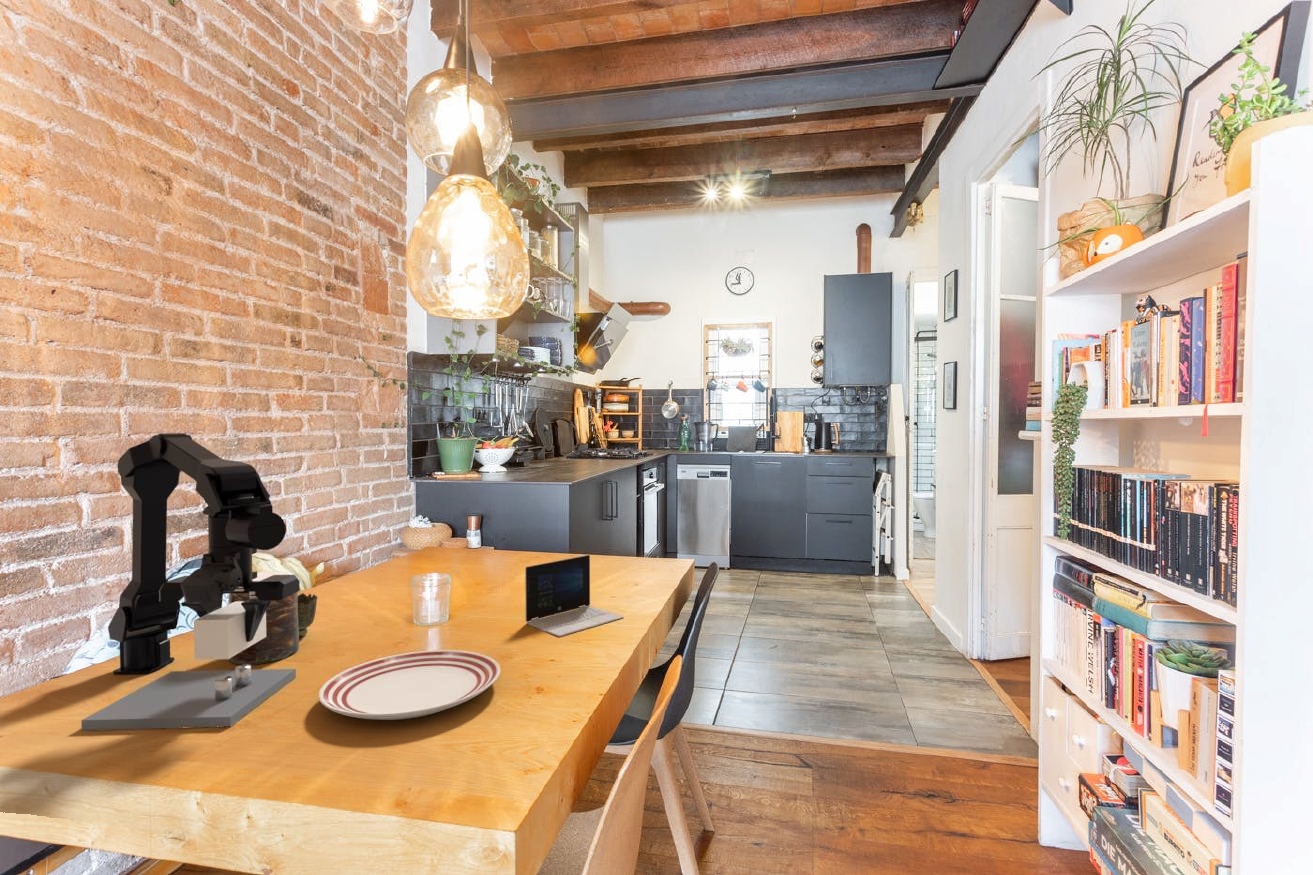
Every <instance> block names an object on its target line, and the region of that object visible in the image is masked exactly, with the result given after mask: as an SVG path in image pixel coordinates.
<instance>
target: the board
mask: <svg viewBox="0 0 1313 875" xmlns="http://www.w3.org/2000/svg"><path fill="white" fill-rule="evenodd" d="M226 676H230V677H232V698H230V699H228V700H225V701H215V680H216V679H218V678H221V677H226ZM296 676H297V670H296V668H279V669H278V668H277V669H271V668H270V669H267V668H265V669H251V685H249V686H247V687H242V688H237V687H235V669H233V670H232V669H231V670H230V669H226V670H225V669H224V670H223V669H222V670H221V669H220V670H219V669H217V670H178V671H177V670H176V671H175V670H172V671H170V672H168V673H165V674H164V675H162V676H160V677H159V678H156V679H155V680H153V681H151V682H149V683H148V684H145V685H143V686H142V687H140V688H138V689H137V690H135V691H133V692H131V693H129V694H127V695H126V696H125V695H124V696H123V697H121V698H120V699H118V700H116V701H114V702H113V703H110V704H109V705H107V706H105V707H103V708H102V709H99V710H97V711H95V712H94V713H92V714H90V715H88V716H87V717H85V718H82V719H80V721H81V731H102V730H103V731H110V730H111V731H115V730H121V729H122V730H152V729H151V728H166V729H184V728H183V727H210V728H225V727H224V726H231V725H233V724H234V725H235V724H237V723H238V722H239V721H241V720H242V719H243V718H244V717H245V716H244V715H246V714H247V713H248V712H250V711H251V710H252V711H254V710H255V709H256V708H258V707H259V706H260V705H262V704H263V703H264V702H266V701H267V700H268V699H269V698H271V697H272V696H273V695H275V694H276V693H277V692H278V691H280V690H281V689H282V688H284V687H285V686H286V685H288V684H289V683H290V682H292V681H293V680H294V679H296V678H297V677H296ZM271 695H272V696H271ZM270 696H271V697H270ZM267 698H268V699H267ZM266 699H267V700H266ZM265 700H266V701H265ZM262 702H263V703H262ZM261 703H262V704H261ZM258 705H259V706H258ZM257 706H258V707H257ZM252 711H251V712H252ZM251 712H250V713H251ZM248 714H249V713H248ZM248 714H247V715H248ZM247 715H246V716H247ZM243 716H244V717H243ZM242 717H243V718H242ZM241 718H242V719H241ZM240 719H241V720H240ZM237 721H238V722H237ZM236 722H237V723H236ZM234 725H233V726H234ZM217 726H218V727H217ZM220 726H222V727H220ZM231 727H232V726H231Z"/></svg>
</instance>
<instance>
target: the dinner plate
mask: <svg viewBox="0 0 1313 875" xmlns="http://www.w3.org/2000/svg"><path fill="white" fill-rule="evenodd" d="M500 675H501V667H500V664H499V663H498V662H497V661H496V660H495V659H494V658H492V657H490V656H488V655H485V654H482V653H478V652H474V651H473V652H472V651H467V650H457V649H455V650H454V649H437V650H434V649H433V650H420V651H419V650H418V651H413V652H405V653H398V654H395V655H394V654H393V655H389V656H384V657H381V658H377V659H373V660H369V661H366V662H363V663H360V664H357V665H355V666H352V667H349V668H347V669H345V670H342V671H341V672H340V673H338V674H336V675H334V676H333V677H331V678H329V680H327V681H326V682H325V683H324V684H323V685H322V686H321V687H320V689H319V691H318V700H319V703H321V705H322V706H324V707H325V708H326V709H328V710H330V711H332V712H334V713H337V714H340V715H343V716H346V717H352V718H358V719H363V720H378V721H379V720H380V721H399V720H409V719H416V718H422V717H425V716H430V715H433V714H436V713H439V712H443V711H445V710H448V709H450V708H454V707H456V706H458V705H461V704H464V703H465V702H468V701H469V700H471V699H473V698H476V696H479V695H480V694H481V693H483V692H484V691H486V690H487V689H488V688H490V687H491V686H492V685H493V684H494V683H495V682H496V681H497V679H498V678H499V677H500Z"/></svg>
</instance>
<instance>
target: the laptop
mask: <svg viewBox="0 0 1313 875" xmlns="http://www.w3.org/2000/svg"><path fill="white" fill-rule="evenodd" d="M590 562H591V557H590V555H589V554H586V555H580V556H575V557H571V558H565V559H559V560H554V561H553V560H552V561H549V562H543V563H538V564H533V565H528V566H525V569H524V572H525V578H524V579H525V580H524V581H525V582H524V583H525V584H524V585H525V622H526V625H527V624H528V626H529V625H531V626H530V627H532V626H533V627H532V628H534V627H535V629H538V630H539V631H542V632H544V633H547V634H551V635H553V636H556V637H559V638H560V637H564V636H567V635H570V634H574V633H577V632H582V631H583V630H587V629H591V628H595V627H598V626H601V625H605V624H607V623H611V622H614V621H619V620H622V619H624V616H623V615H620V614H617V613H615V612H614V613H613V612H611V611H607V610H605V609H602V608H598V607H595V606H592V605H591V583H590V582H591V576H590V574H591V564H590ZM618 619H619V620H618Z"/></svg>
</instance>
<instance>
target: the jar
mask: <svg viewBox="0 0 1313 875" xmlns="http://www.w3.org/2000/svg"><path fill="white" fill-rule="evenodd" d="M273 575H289V574H288V573H287V572H285V571H277V570H275V571H261V572H257V578H255V579H253V581H261V580H263V579H266V578H268V577H270V576H273ZM237 588H243V587H237ZM298 592H299V591H298ZM298 592H296V593H294V594H292V595H290V596H288V597H286V598H284V599H282V600H272V601H271V603H270V605H269V606H268V608H267V610H266V637H265V638H263V639H262V640H260V641H258V642H257V643H255V644H253V645H252V646H250V647H248V648H246V649H245V650H243V651H241V652H240V653H238V654H236V655H235V656H233V657H231V658H230V659H229V662H231V663H232V664H235V665H239V666H240V665H244V664H250V665H251V666H255V665H262V664H263V665H264V664H267V663H272V662H278V661H280V660H283V659H285V658H288V657H290V656H292V655H294V654H295V653H297V652H298V651H299V649H300V637H299V616H298V596H299V595H298ZM249 599H250V598H249V593H236V594H229V595H228V604H227V605H229V604H231V603H233V602H237V601H247V600H249Z"/></svg>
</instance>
